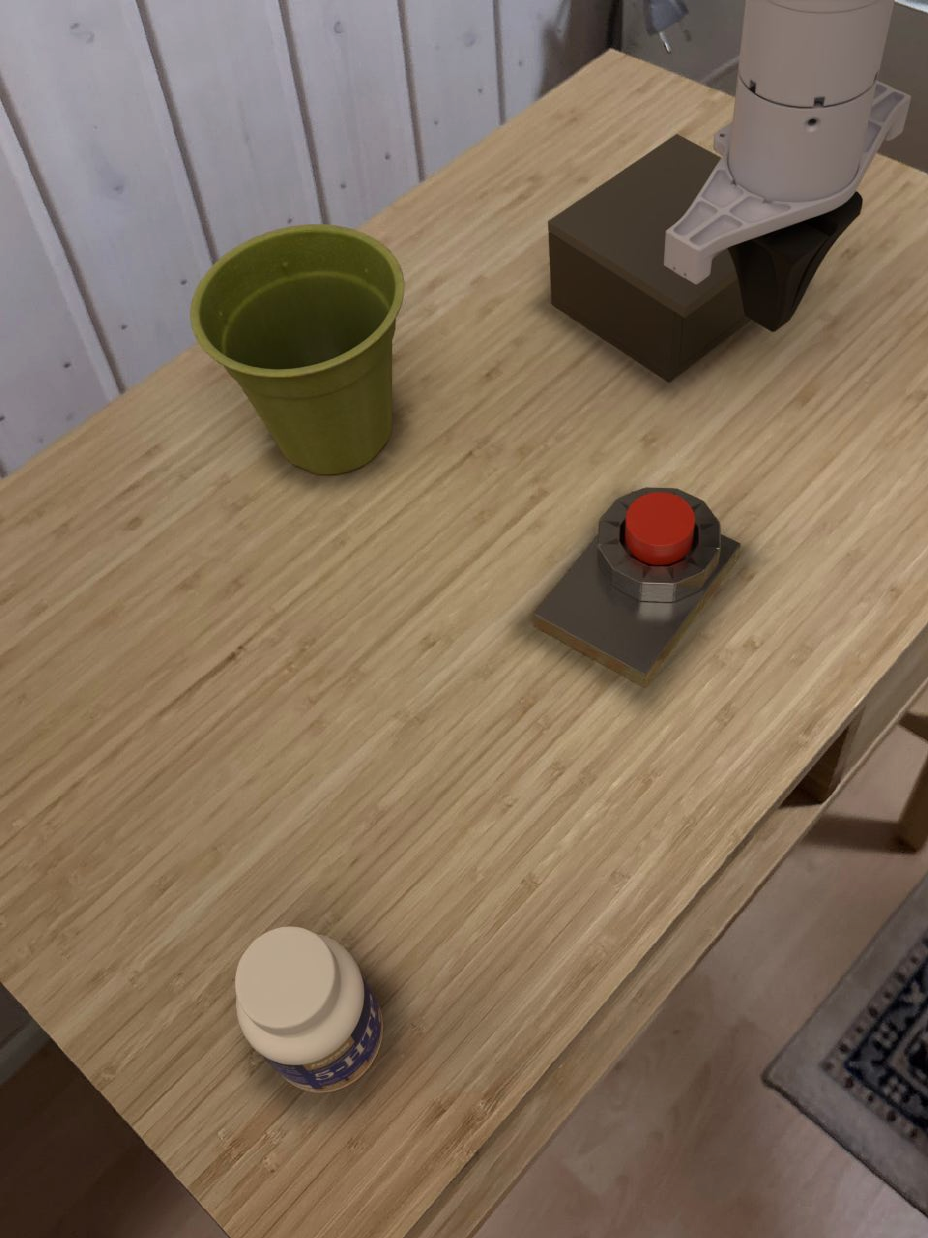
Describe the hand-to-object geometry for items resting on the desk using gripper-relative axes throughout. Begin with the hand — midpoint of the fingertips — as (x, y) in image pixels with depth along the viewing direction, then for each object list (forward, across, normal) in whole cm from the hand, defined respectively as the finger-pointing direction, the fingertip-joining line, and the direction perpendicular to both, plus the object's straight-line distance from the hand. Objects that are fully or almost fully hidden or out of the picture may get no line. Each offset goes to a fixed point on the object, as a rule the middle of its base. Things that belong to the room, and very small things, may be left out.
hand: (767, 316), depth 59 cm
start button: (+8, +10, +2) cm, 13 cm away
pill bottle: (+11, +39, +9) cm, 41 cm away
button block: (+10, +12, +2) cm, 16 cm away
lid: (+5, -7, -12) cm, 14 cm away
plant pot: (+11, +16, -19) cm, 27 cm away
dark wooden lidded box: (+10, -7, -12) cm, 17 cm away
